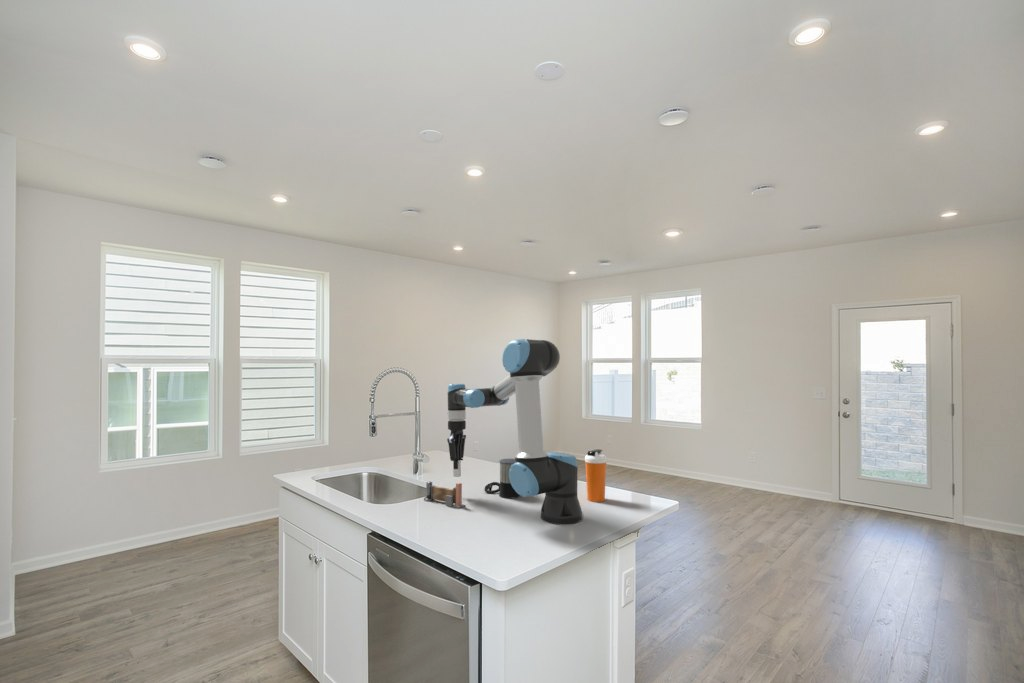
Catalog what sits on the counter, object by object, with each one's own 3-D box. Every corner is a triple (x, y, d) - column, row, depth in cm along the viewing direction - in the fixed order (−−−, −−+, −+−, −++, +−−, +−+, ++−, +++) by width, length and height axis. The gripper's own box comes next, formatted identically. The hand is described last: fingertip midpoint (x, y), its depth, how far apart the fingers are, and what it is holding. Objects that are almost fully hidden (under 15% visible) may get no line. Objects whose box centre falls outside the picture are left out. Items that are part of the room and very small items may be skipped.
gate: (430, 498, 202) (430, 483, 203) (433, 497, 204) (434, 483, 204) (455, 504, 195) (456, 488, 195) (459, 503, 196) (459, 487, 196)
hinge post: (436, 499, 205) (436, 482, 205) (429, 501, 201) (429, 484, 201) (429, 497, 207) (429, 480, 207) (421, 499, 204) (421, 482, 204)
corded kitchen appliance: (520, 498, 206) (520, 462, 206) (482, 498, 206) (482, 462, 206) (520, 489, 220) (520, 456, 220) (485, 489, 220) (485, 456, 221)
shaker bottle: (610, 498, 205) (609, 450, 206) (602, 503, 198) (601, 453, 199) (590, 495, 210) (590, 448, 211) (581, 500, 203) (581, 451, 203)
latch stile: (465, 506, 195) (465, 483, 195) (458, 508, 191) (458, 485, 192) (452, 503, 199) (452, 480, 199) (445, 505, 195) (445, 482, 196)
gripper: (456, 418, 218) (456, 472, 217) (441, 421, 206) (441, 479, 205) (471, 418, 216) (471, 473, 214) (457, 421, 204) (457, 480, 202)
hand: (457, 476), depth 210 cm, fingers closed
